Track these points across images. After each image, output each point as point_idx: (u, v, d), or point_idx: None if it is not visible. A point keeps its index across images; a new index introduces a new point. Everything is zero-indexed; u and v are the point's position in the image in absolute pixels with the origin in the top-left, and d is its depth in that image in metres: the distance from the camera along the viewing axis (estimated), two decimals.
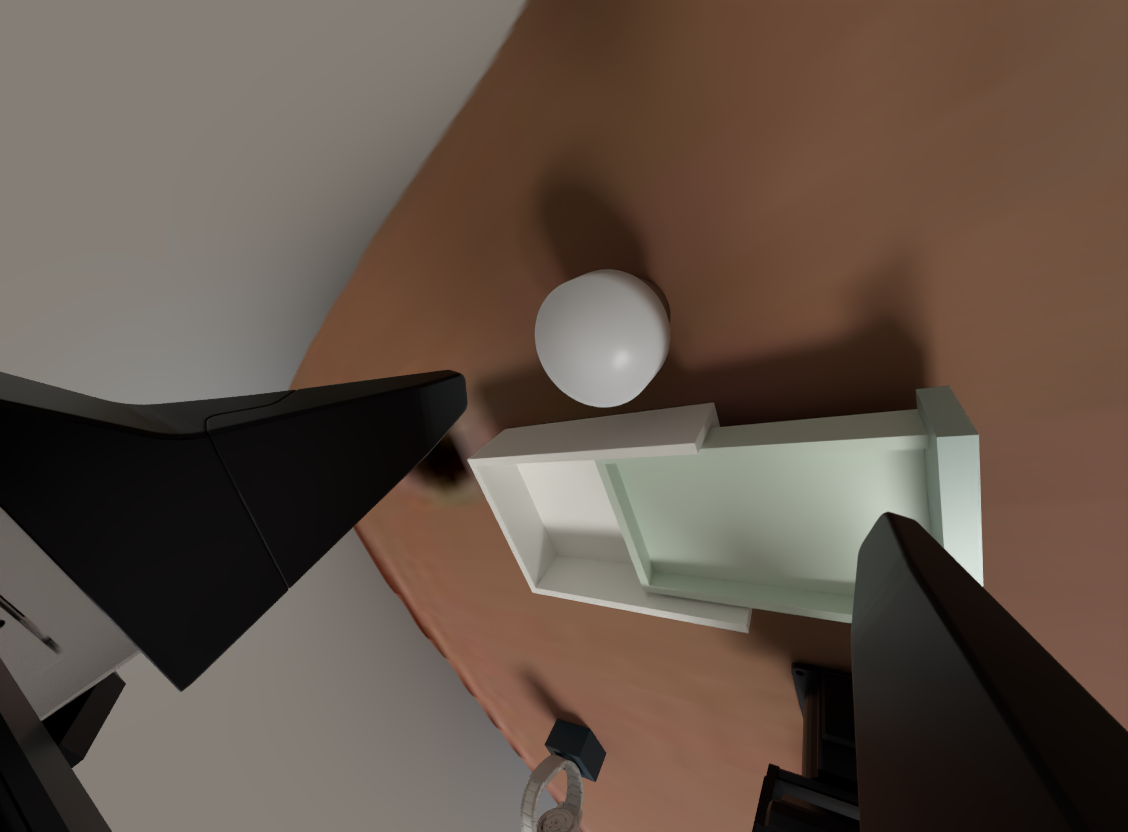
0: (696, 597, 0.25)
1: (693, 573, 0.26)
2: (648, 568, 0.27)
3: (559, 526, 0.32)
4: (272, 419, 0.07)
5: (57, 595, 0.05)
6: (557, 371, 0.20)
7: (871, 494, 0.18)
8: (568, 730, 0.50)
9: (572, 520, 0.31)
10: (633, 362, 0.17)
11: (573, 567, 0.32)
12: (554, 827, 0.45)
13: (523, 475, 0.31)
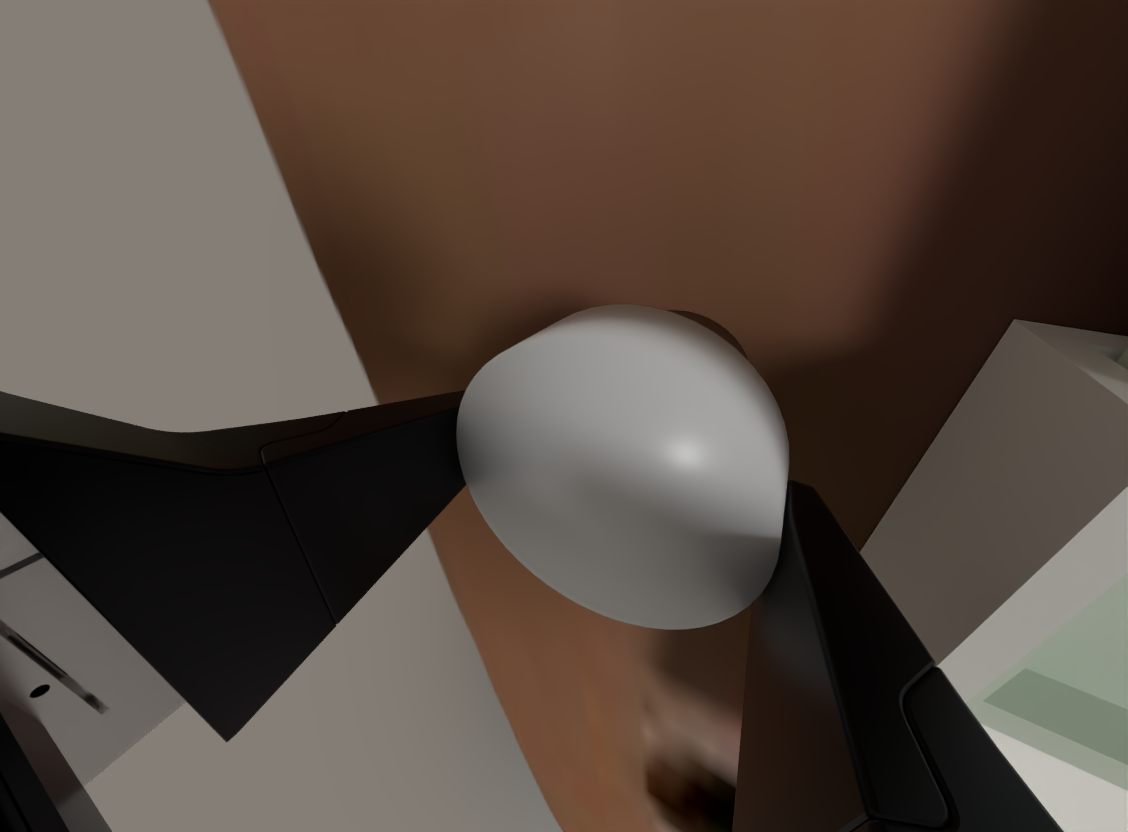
0: None
1: None
2: None
3: None
4: (328, 447, 0.06)
5: (103, 649, 0.05)
6: (614, 599, 0.08)
7: None
8: None
9: None
10: (665, 442, 0.06)
11: None
12: None
13: None
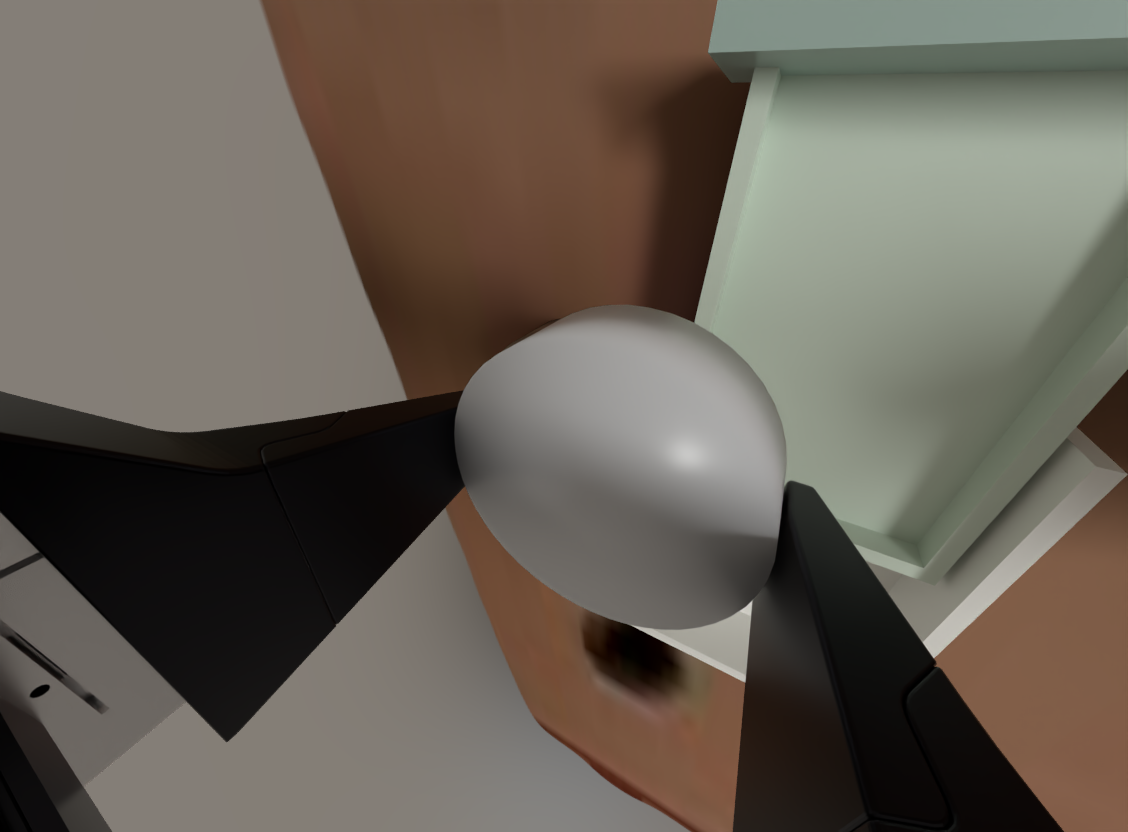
0: (988, 514, 0.13)
1: (947, 492, 0.14)
2: (892, 546, 0.15)
3: None
4: (328, 447, 0.06)
5: (103, 650, 0.05)
6: (612, 599, 0.08)
7: (872, 161, 0.11)
8: None
9: None
10: (662, 443, 0.06)
11: None
12: None
13: None
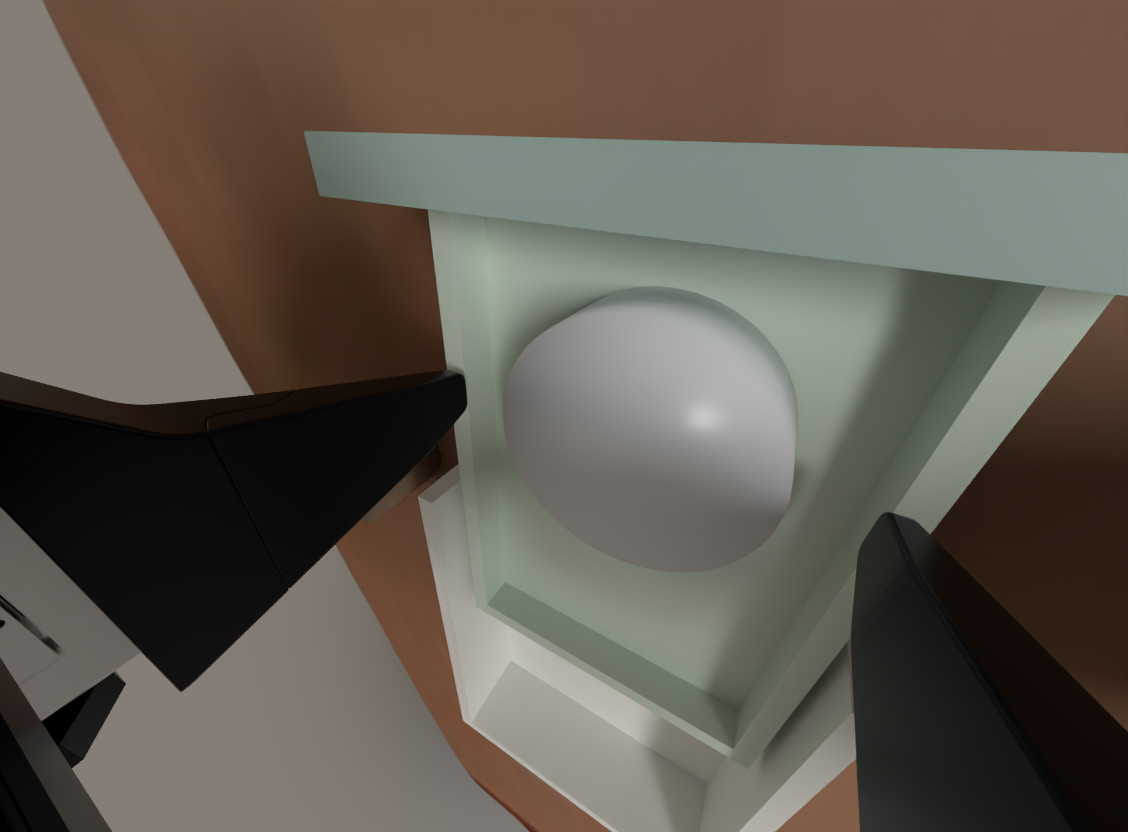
0: (780, 713, 0.11)
1: (755, 665, 0.12)
2: (708, 713, 0.13)
3: (646, 729, 0.19)
4: (272, 419, 0.07)
5: (57, 595, 0.05)
6: (643, 548, 0.09)
7: None
8: None
9: (638, 707, 0.19)
10: (694, 400, 0.07)
11: (714, 793, 0.17)
12: None
13: (557, 688, 0.22)
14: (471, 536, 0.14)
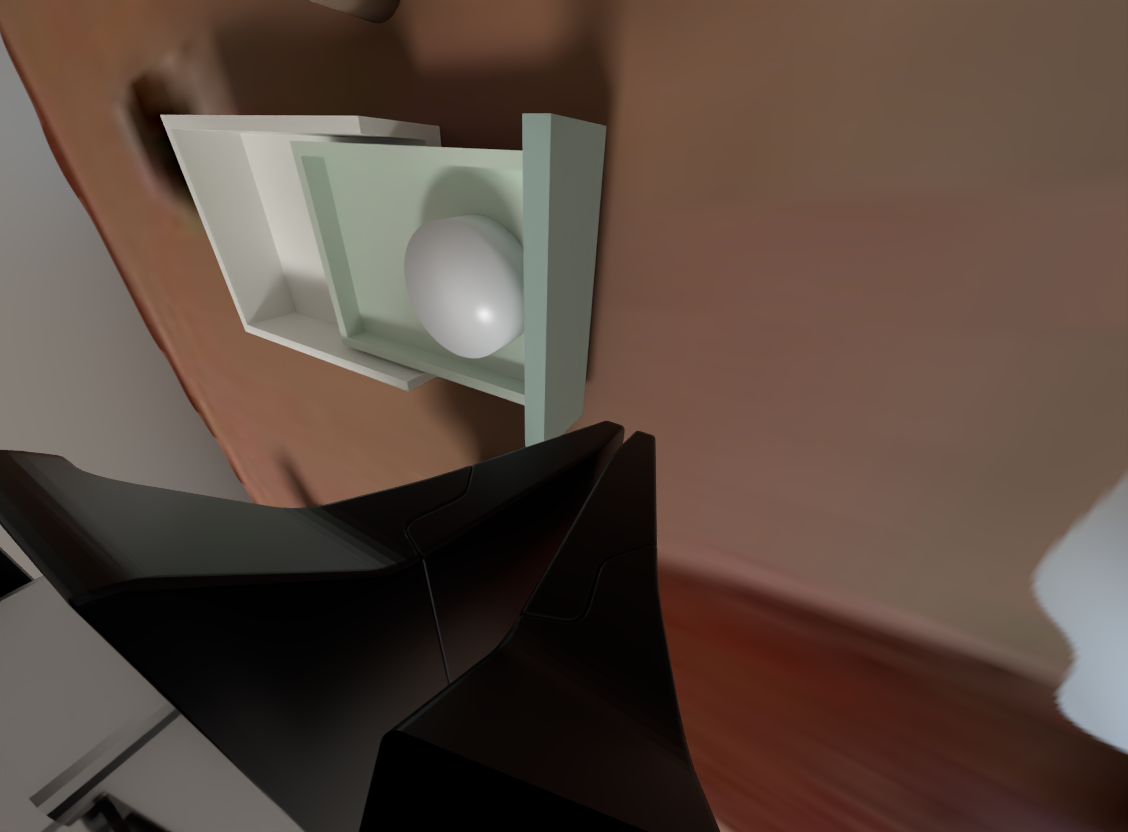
0: (383, 355, 0.24)
1: (393, 337, 0.24)
2: (352, 320, 0.25)
3: (296, 271, 0.28)
4: (477, 521, 0.05)
5: (233, 804, 0.04)
6: (422, 306, 0.19)
7: None
8: None
9: (307, 265, 0.27)
10: (489, 322, 0.18)
11: (301, 321, 0.29)
12: None
13: (259, 191, 0.26)
14: (349, 147, 0.18)
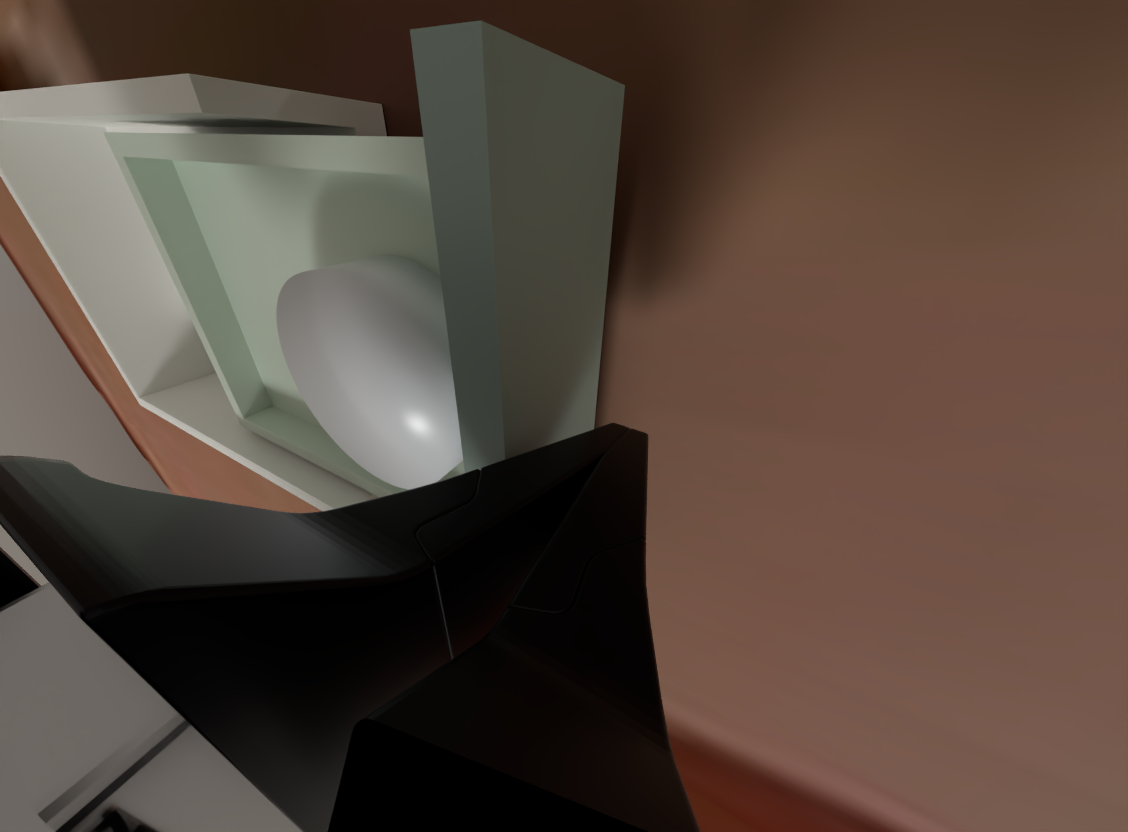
0: (289, 447, 0.16)
1: (307, 417, 0.17)
2: (250, 394, 0.17)
3: None
4: (486, 525, 0.05)
5: (242, 814, 0.04)
6: (324, 414, 0.12)
7: None
8: None
9: None
10: (418, 435, 0.10)
11: (219, 388, 0.21)
12: None
13: None
14: (178, 141, 0.10)
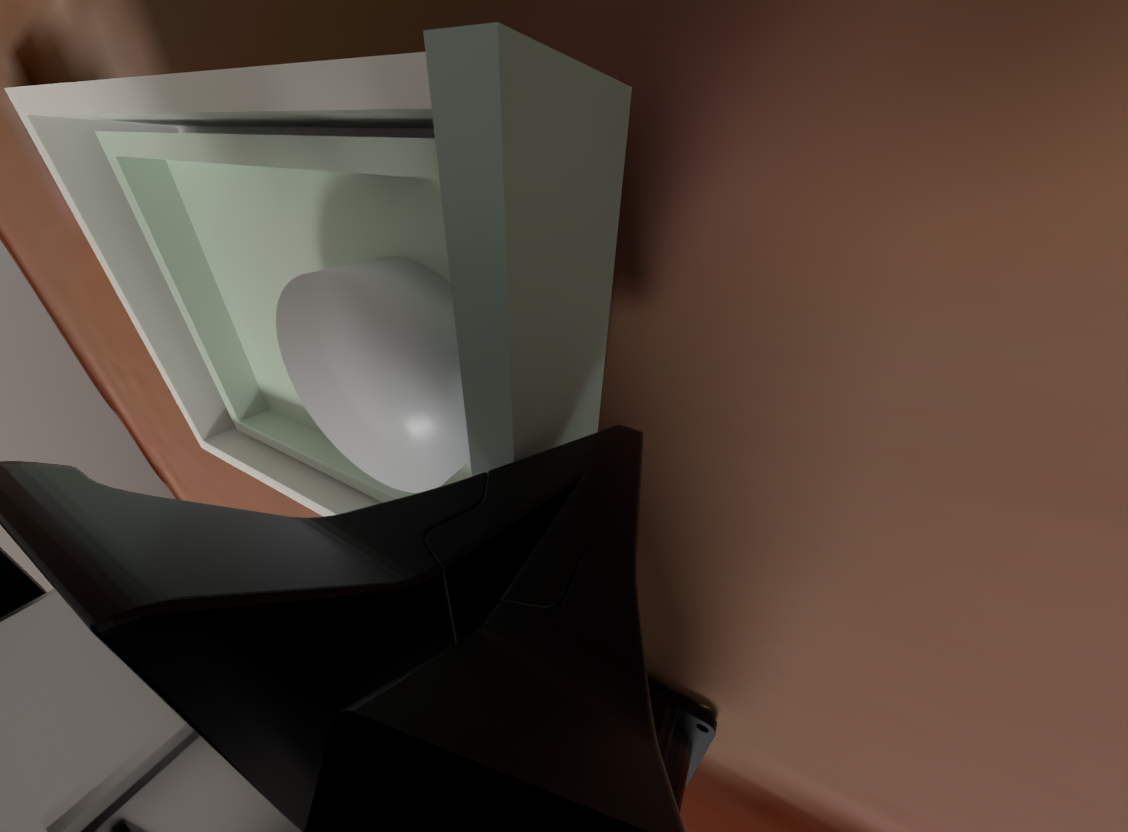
0: (286, 451, 0.16)
1: (305, 421, 0.17)
2: (246, 397, 0.17)
3: None
4: (495, 530, 0.05)
5: (250, 824, 0.04)
6: (327, 422, 0.12)
7: None
8: None
9: None
10: (424, 434, 0.10)
11: None
12: None
13: None
14: (173, 141, 0.10)
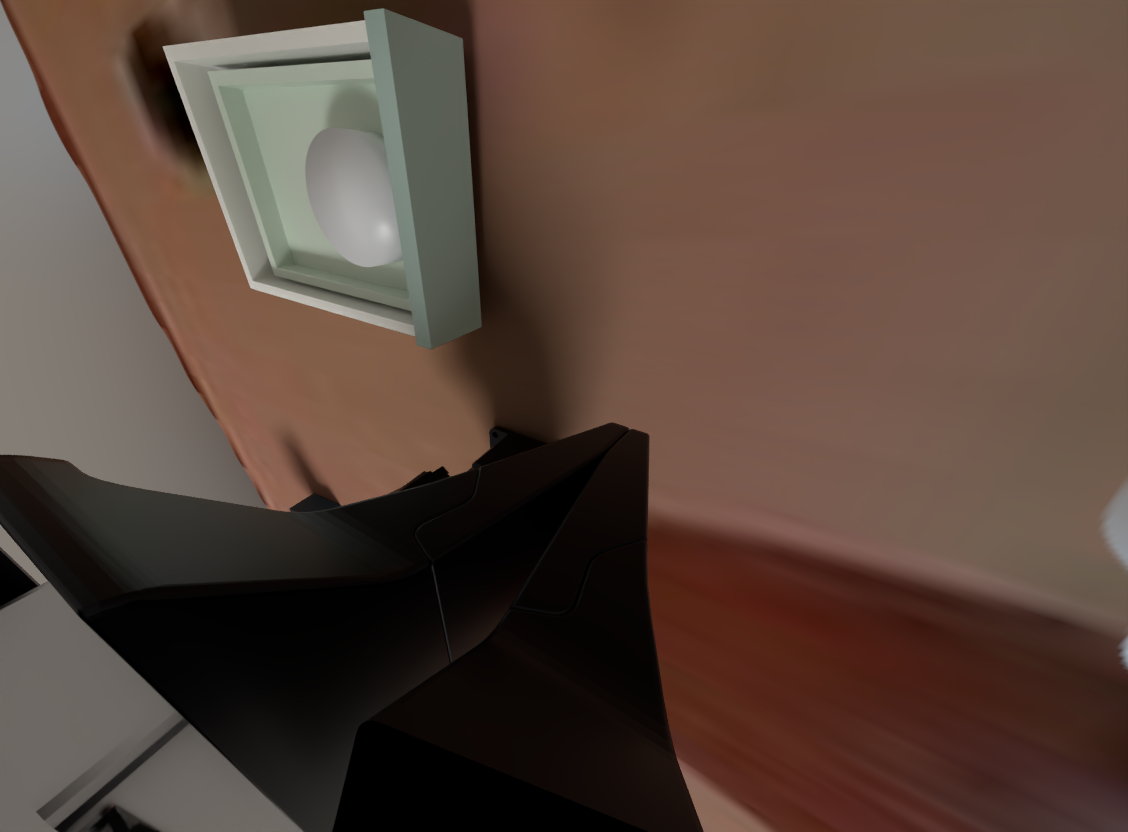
0: (306, 281, 0.26)
1: (318, 266, 0.26)
2: (281, 251, 0.27)
3: None
4: (485, 525, 0.05)
5: (240, 812, 0.04)
6: (336, 239, 0.21)
7: None
8: (318, 502, 0.50)
9: None
10: (379, 206, 0.19)
11: None
12: None
13: None
14: (255, 72, 0.20)
